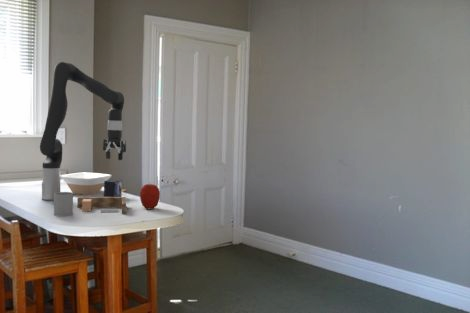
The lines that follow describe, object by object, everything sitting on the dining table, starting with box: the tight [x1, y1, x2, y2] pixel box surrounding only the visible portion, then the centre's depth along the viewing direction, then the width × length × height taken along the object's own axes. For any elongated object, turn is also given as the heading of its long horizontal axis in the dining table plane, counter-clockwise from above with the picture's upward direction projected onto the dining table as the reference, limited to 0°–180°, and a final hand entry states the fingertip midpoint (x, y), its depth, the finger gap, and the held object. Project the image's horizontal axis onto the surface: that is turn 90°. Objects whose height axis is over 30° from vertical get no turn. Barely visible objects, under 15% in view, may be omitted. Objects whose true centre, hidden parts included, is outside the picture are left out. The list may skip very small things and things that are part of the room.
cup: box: [53, 191, 74, 217], centre depth 241 cm, size 8×8×10 cm
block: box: [81, 199, 92, 212], centre depth 254 cm, size 4×7×5 cm, turn 12°
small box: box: [103, 178, 123, 197], centre depth 289 cm, size 11×6×10 cm, turn 168°
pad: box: [100, 209, 119, 213], centre depth 252 cm, size 8×5×1 cm, turn 102°
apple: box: [139, 183, 161, 210], centre depth 261 cm, size 10×10×14 cm
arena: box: [76, 196, 127, 215], centre depth 254 cm, size 24×20×5 cm
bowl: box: [60, 171, 112, 196], centre depth 305 cm, size 24×25×11 cm
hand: (114, 159), depth 273 cm, fingers open, 8 cm apart
